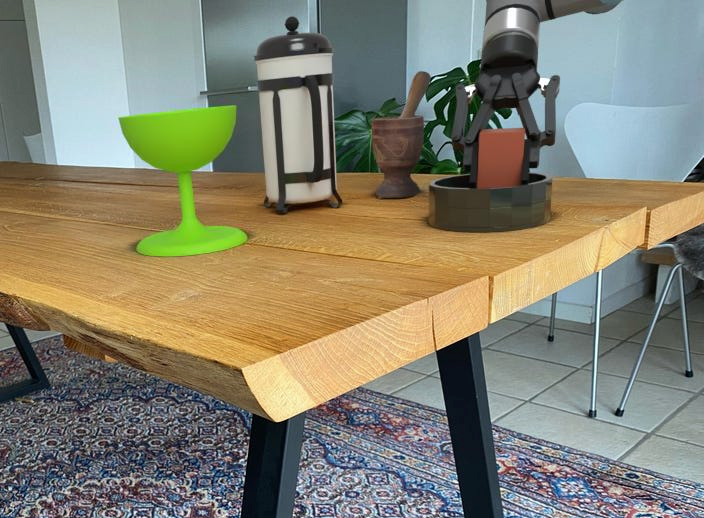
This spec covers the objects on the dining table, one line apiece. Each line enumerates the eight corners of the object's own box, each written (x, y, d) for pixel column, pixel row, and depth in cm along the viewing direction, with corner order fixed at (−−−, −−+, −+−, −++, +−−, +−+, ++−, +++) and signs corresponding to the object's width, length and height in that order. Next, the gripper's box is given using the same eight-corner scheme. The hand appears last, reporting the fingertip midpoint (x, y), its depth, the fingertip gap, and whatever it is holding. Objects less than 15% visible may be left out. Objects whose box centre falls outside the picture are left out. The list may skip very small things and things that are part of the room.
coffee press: (237, 214, 125) (221, 22, 115) (291, 198, 137) (281, 22, 126) (323, 218, 115) (313, 6, 104) (374, 200, 126) (370, 7, 115)
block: (519, 210, 102) (525, 127, 98) (519, 217, 97) (525, 131, 93) (477, 210, 104) (481, 129, 100) (475, 217, 99) (479, 133, 95)
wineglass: (242, 228, 113) (231, 104, 107) (253, 248, 98) (241, 106, 92) (138, 239, 112) (121, 115, 106) (133, 261, 97) (114, 119, 91)
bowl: (544, 208, 105) (546, 168, 103) (554, 230, 91) (557, 185, 89) (432, 213, 110) (432, 175, 108) (426, 234, 96) (425, 191, 94)
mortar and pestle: (390, 189, 136) (389, 74, 130) (436, 188, 132) (437, 69, 125) (365, 199, 128) (362, 76, 121) (413, 199, 123) (413, 71, 116)
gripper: (580, 65, 103) (575, 202, 95) (443, 78, 111) (427, 206, 102) (584, 22, 97) (579, 165, 89) (439, 39, 104) (421, 173, 96)
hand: (498, 187), depth 96 cm, fingers closed on block, 6 cm apart
